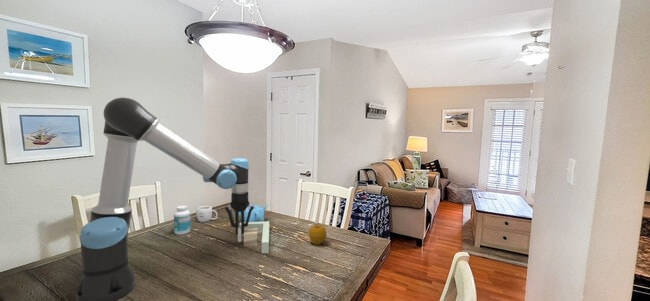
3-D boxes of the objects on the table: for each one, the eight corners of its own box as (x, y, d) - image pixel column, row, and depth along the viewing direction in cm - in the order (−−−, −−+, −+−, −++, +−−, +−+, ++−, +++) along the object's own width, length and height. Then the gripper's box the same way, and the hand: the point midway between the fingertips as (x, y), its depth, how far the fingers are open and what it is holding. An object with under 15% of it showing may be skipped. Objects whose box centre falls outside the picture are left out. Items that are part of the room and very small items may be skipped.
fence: (268, 253, 118) (268, 242, 118) (233, 255, 115) (233, 244, 115) (269, 230, 144) (269, 221, 143) (240, 231, 141) (240, 222, 140)
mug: (193, 222, 151) (193, 209, 151) (201, 217, 160) (201, 204, 159) (214, 223, 151) (213, 210, 150) (220, 218, 159) (220, 205, 158)
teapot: (232, 223, 152) (232, 204, 151) (262, 217, 163) (262, 199, 161) (242, 233, 139) (243, 211, 138) (274, 226, 150) (274, 206, 149)
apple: (329, 244, 129) (330, 226, 128) (315, 249, 123) (316, 230, 123) (319, 238, 135) (319, 221, 135) (305, 242, 130) (305, 224, 129)
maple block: (257, 245, 125) (257, 233, 125) (243, 246, 124) (243, 233, 123) (257, 240, 131) (258, 228, 130) (245, 240, 130) (245, 228, 129)
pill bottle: (173, 231, 139) (173, 205, 138) (189, 228, 143) (189, 203, 142) (174, 236, 133) (174, 209, 131) (191, 233, 137) (191, 207, 135)
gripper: (254, 189, 129) (254, 236, 131) (226, 190, 126) (226, 238, 129) (253, 193, 122) (253, 243, 124) (223, 194, 119) (224, 245, 121)
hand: (239, 240), depth 126 cm, fingers closed
